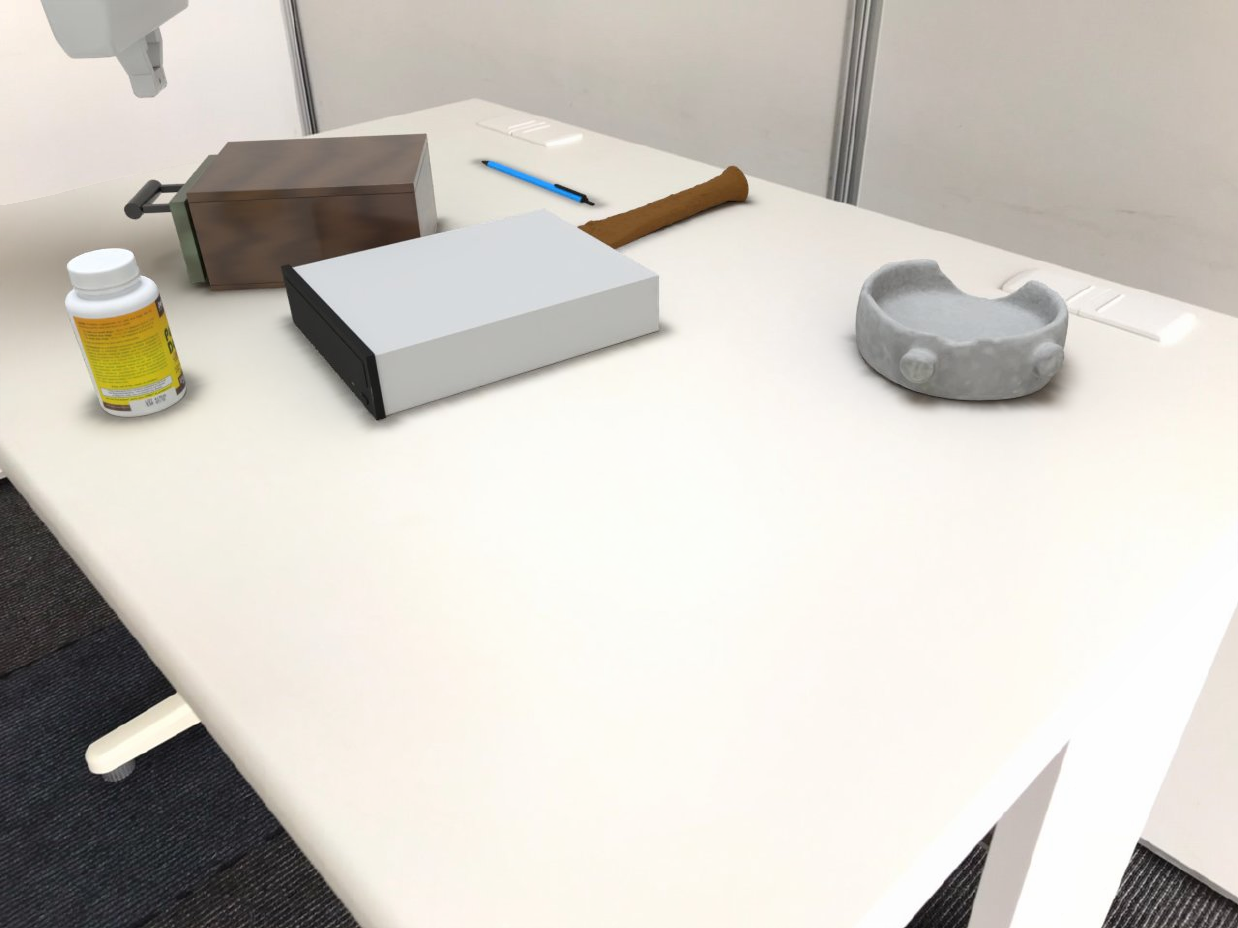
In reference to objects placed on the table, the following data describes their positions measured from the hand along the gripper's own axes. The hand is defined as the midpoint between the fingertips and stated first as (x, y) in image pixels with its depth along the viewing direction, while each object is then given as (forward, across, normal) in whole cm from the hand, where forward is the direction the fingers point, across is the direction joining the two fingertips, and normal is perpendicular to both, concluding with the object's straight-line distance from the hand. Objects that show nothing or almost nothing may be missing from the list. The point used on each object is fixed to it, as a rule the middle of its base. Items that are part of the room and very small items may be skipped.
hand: (152, 93), depth 80 cm
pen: (+15, -17, +30) cm, 37 cm away
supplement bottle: (+15, +24, +3) cm, 28 cm away
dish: (+15, +25, +59) cm, 65 cm away
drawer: (+14, 0, +7) cm, 15 cm away
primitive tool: (+15, -4, +42) cm, 44 cm away
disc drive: (+15, +16, +25) cm, 33 cm away
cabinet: (+15, 0, +12) cm, 19 cm away
